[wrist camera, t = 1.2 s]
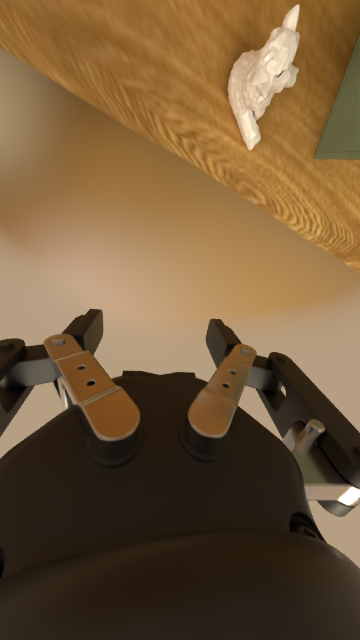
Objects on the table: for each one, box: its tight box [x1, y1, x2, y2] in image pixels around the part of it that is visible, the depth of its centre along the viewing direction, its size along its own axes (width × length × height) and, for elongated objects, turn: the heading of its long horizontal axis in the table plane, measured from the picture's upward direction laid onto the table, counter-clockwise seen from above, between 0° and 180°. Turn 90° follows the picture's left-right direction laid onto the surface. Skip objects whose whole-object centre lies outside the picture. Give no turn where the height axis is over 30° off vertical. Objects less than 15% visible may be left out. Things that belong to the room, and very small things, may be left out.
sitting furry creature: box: [227, 4, 300, 150], centre depth 23 cm, size 10×9×12 cm
